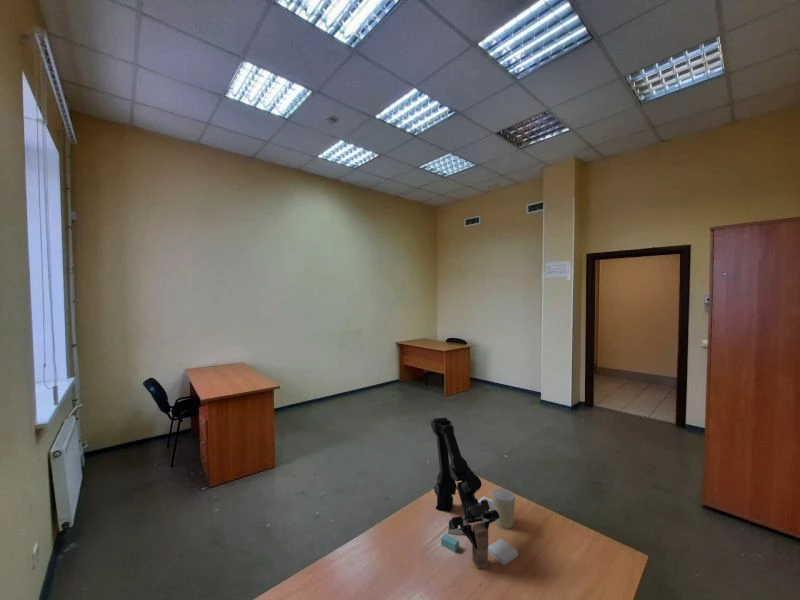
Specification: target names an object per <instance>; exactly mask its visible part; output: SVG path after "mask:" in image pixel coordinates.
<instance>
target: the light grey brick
mask: <svg viewBox="0 0 800 600" xmlns="http://www.w3.org/2000/svg"><path fill="white" fill-rule="evenodd" d="M459 529H460V525H459V526H458V528H457V529H453V530H450V529H449V521H447V534H453V535H464V533H463V531H460V530H459Z"/></svg>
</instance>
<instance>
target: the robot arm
mask: <svg viewBox="0 0 800 600" xmlns="http://www.w3.org/2000/svg"><path fill="white" fill-rule="evenodd" d="M430 426H431V429H432V434H433V435H434V436H435V437H436V443H437V455H438V467H439V472H438V474H437V477H436V483H435V485H434V486H433V490H434V491H433V492H434V494H435V496H436V507H435V509H436V510H439V511H442V512H446V513H451V511H452V509H453V507H454V496H455V495H456V493H458V496H459V499H460V503H461V504H460V506H461V508H462V511H463V513H464V516H463V517H464V518H463V517H462V515H460V516H455V517H451V519H450V520H448V522H449V529H450V530H453V529H457V528H458V526H459V525H460V529H459V530H460V531H463V535H465V537H466V538H467V539H468V540H469V542H470V543H471V546H472V545H473V546H474V548H475V549H477V545H476V541H475V538H474V535H473V532H472V525H473V524H476V523H483V524H484V526H485V527H486V528H487V530H488V531H489V529H490V528H489V527H490V524H491V523H493V522H494V523H495V521H496V520H497V519H499V518H500V516H499V513H498V512H497V511H496V510H492V511H489V509H490V508H489V504H488V501H487V500H482V501H481V503H478V500H479V499H478V498H476V496H475V494H476V493H477V492H478V491H479V490H480V489H481V487H482V481H481V478H479V476H478V475H476V474H475V473H474V471H472V469H471V468H470V467H469V464H468V462H467V460H466V459H465V458H464V457H463V456H462V454H461V451H460V448H459V444H458V442H457V438H456V436H455V435H456V434H455V432H454V431H455V428H454V426H453V424H452V421H451V420H450V419H448V418H447V417H436V418H433V419H432V420H431V421H430ZM449 458H450V459H449ZM456 482H457V483H456ZM456 491H457V492H456Z"/></svg>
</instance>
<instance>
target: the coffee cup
mask: <svg viewBox="0 0 800 600" xmlns="http://www.w3.org/2000/svg"><path fill="white" fill-rule="evenodd" d="M491 496H492V500H493V510H496V511H497V512H498V513H499V516H500V518H499V519H497V520H496V521H494V524H495V525H496V526H497V527H499V528H501V529H504V530H507V529H512V528H513V527H514V519H515V506H516V505H515V503H516V502H515V501H516V497H515V494H514V493H513V492H512V491H510V490H508V489H506V488H497V489H494V490H493V491H492V494H491Z"/></svg>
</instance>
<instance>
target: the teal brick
mask: <svg viewBox="0 0 800 600" xmlns="http://www.w3.org/2000/svg"><path fill="white" fill-rule="evenodd" d="M440 544H441V546H442V547H444V548H445V547H446V548H445V549H447V550H450V551H451V552H454V553H456V552H457V551H458V550H459V548H460V547H459V545H460V541H459V540H458V539H457V538H456V537H455V538H454V537H453V536H452V535H449V534H448V533H447V534H446V533H444V534H443V535H442V536H441V537H440Z"/></svg>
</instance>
